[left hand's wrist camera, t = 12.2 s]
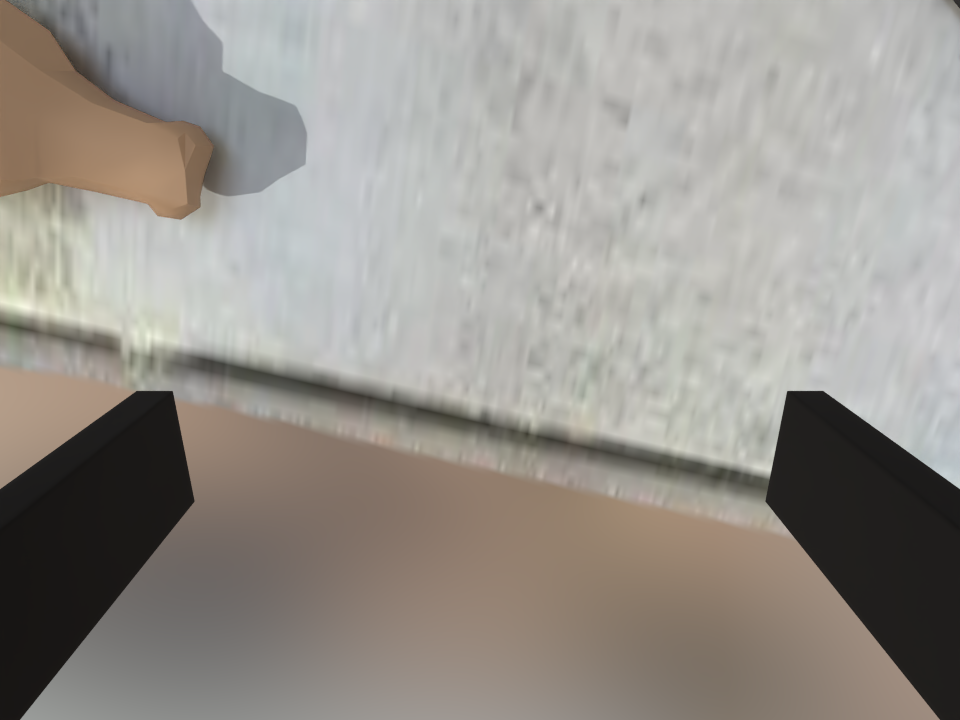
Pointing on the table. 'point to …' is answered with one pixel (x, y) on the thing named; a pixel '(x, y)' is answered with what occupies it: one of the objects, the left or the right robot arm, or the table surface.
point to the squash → (87, 130)
